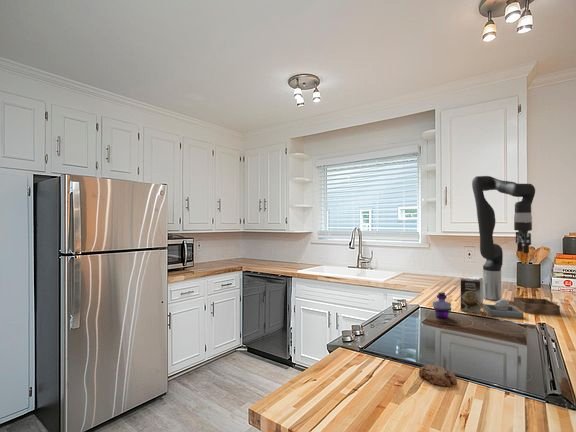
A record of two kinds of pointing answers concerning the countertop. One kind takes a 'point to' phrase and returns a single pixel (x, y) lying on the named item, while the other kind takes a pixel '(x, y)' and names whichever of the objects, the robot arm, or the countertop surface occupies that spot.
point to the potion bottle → (442, 306)
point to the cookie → (438, 375)
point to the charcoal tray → (510, 313)
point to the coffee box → (470, 295)
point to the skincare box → (480, 286)
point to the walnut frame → (536, 306)
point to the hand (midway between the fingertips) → (523, 252)
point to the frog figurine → (502, 305)
